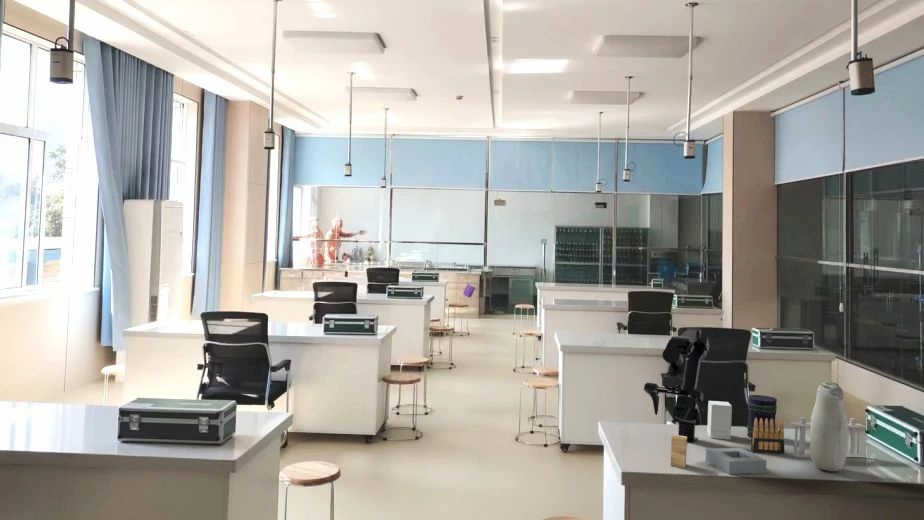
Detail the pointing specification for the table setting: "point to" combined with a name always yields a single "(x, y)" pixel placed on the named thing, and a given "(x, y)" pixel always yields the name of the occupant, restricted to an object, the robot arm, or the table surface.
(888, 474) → the table surface
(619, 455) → the table surface
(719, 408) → the supplement box
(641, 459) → the table surface
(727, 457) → the socket
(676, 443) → the peg
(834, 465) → the white bottle
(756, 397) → the storage jar
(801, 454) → the test tube rack
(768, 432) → the ammunition clip
